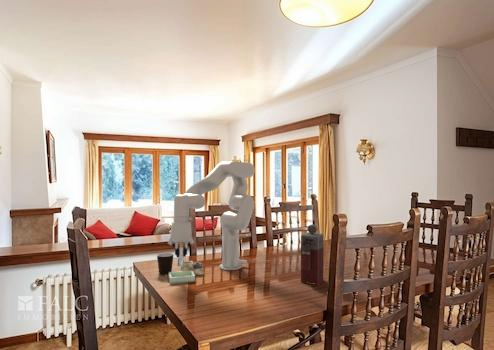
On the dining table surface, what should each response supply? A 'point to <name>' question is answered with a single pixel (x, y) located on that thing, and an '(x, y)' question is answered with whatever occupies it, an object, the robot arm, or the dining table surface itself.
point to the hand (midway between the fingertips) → (181, 256)
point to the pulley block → (193, 267)
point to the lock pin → (181, 254)
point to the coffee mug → (165, 263)
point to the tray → (181, 277)
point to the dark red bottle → (312, 256)
